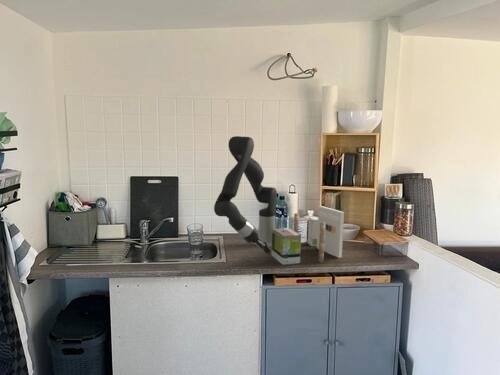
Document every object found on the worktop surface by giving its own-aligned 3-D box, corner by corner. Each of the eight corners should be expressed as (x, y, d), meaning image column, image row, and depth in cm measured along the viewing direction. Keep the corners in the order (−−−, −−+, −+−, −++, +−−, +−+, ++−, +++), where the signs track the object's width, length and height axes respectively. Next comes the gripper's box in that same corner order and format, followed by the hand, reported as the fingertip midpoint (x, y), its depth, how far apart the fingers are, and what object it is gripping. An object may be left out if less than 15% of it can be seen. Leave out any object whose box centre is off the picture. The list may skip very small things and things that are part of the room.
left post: (292, 249, 206) (293, 213, 203) (296, 248, 207) (297, 213, 204) (294, 250, 204) (296, 214, 201) (298, 249, 205) (299, 214, 202)
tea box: (300, 263, 184) (301, 234, 182) (282, 265, 181) (282, 235, 178) (288, 253, 198) (289, 226, 196) (270, 255, 195) (271, 228, 193)
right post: (317, 261, 187) (319, 222, 184) (321, 260, 188) (323, 222, 185) (320, 262, 185) (322, 223, 182) (324, 262, 186) (326, 223, 183)
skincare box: (311, 246, 211) (312, 219, 209) (306, 243, 217) (307, 217, 215) (324, 245, 213) (326, 219, 211) (320, 242, 219) (321, 216, 217)
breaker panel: (315, 248, 207) (316, 206, 204) (319, 247, 209) (321, 205, 205) (337, 258, 192) (339, 212, 188) (341, 257, 193) (344, 212, 190)
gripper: (258, 227, 171) (280, 249, 179) (245, 221, 183) (266, 242, 190) (248, 240, 169) (270, 262, 177) (235, 233, 181) (257, 254, 189)
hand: (268, 252), depth 184 cm, fingers closed
